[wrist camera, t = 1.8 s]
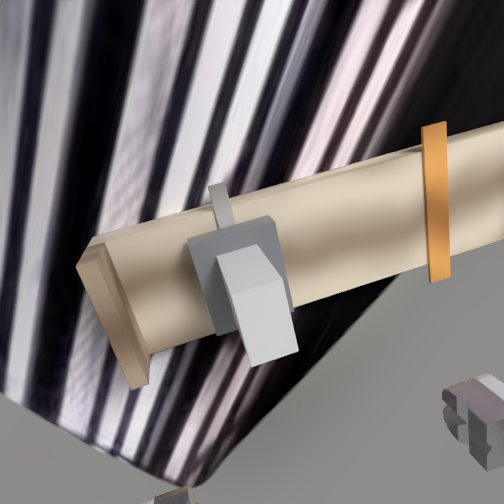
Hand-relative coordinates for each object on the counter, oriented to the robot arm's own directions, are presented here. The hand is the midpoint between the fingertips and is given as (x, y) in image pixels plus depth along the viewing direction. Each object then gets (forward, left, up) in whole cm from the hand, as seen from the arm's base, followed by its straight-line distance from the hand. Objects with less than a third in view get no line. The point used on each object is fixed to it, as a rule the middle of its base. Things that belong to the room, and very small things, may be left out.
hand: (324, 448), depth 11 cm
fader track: (0, +7, -16) cm, 17 cm away
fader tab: (0, 0, -13) cm, 13 cm away
